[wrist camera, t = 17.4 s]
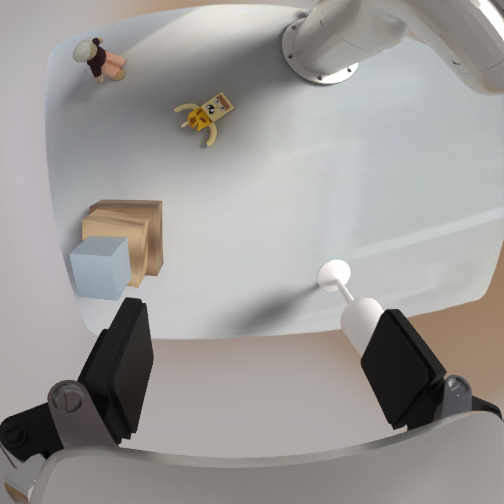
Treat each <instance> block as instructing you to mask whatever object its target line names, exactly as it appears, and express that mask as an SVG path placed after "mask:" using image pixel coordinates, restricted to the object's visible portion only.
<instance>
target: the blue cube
mask: <svg viewBox="0 0 504 504" xmlns="http://www.w3.org/2000/svg"><path fill="white" fill-rule="evenodd" d="M69 256H70V261H71V266H72V271H73V275H74V280H75V284H76V288H77V292H78V296H83V297H91V298H99V299H107V300H116V301H118V299H119V298H120V296H121V294H122V293H123V291H124V289H125V288H126V286H127V284H128V282H129V281H130V279H131V278H132V275H131V267H130V258H129V249H128V238H127V237H110V236H89V237H88V238H86V239H85V240H84V241H83V242H82V243H81V244H80V245H78V246H77V247H76V248H75V249H74V250H73V251H72V252H71V253H69Z"/></svg>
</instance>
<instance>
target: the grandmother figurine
mask: <svg viewBox="0 0 504 504" xmlns="http://www.w3.org/2000/svg"><path fill="white" fill-rule="evenodd" d="M102 41H103V39H102V38H94V39H93V40H90V39H86V40H83V41H82V42H80V43H79V44H78V45H77V46H76V48H75V49H74V51H73V58H74V59H75V60H76V61H77V62H85V61H87V64H88V65H89V66H90V68H91V71H92V73H93V75H94V77H96V79H97V80H98V82H99V83H102V82H104V80H105V78H104V77H103V75H102V73H103V74H105V75H106V76H108V77H109V78H110V79H111V80H121V79H122V78H123V77H124V74H125V72H124V70H123V69H120V68H121V67H123V65H124V64H125V59H124V58H123V57H121V56H118V55H115V54H112V53H110V52H106V51H105V50H103V49H102V48H101V47H99V44H101V43H102Z"/></svg>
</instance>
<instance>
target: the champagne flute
mask: <svg viewBox="0 0 504 504" xmlns="http://www.w3.org/2000/svg"><path fill="white" fill-rule="evenodd" d="M349 277H350V268H349V266H348V265H347V263H345V262H344V261H341V260H333V261H330V262H328V263H326V264H325V265H324V266H323V267H322V268H321V269H320V271H319V273H318V276H317V282H318V284H319V286H320V287H321V288H322V289H323V290H326V291H336V290H338V289H339V290H340V292H341V293H342V295H343V297H344V298H345V300H346V301H347V303H348V305H347V306H346V307H345V309H344V311H343V313H342V316H341V321H340V323H341V328H342V330H343V331H344V333H345V334H346V336H347V337H348V339H349V340H350V342H351V343H352V344H353V346H354V347H355V349H356V350H357V352H358V353H359V355H360V356H361V358H362V356H363V354H364V352H365V350H366V347H367V345H368V343H369V341H370V339H371V337H372V334H373V332H374V330H375V328H376V325H377V323H378V321H379V318H380V316H381V314H382V313H384V312H383V310H382V308H381V306H380V305H379V303H378V302H377V301H375V300H374V299H371V298H357V299H355V300H354V299H353V297H352V296H351V295H350V293H349V292H348V290H347V289H346V287H345V286H344V285H345V284H346V283H347V281H348V279H349Z"/></svg>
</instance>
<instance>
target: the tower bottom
mask: <svg viewBox="0 0 504 504" xmlns="http://www.w3.org/2000/svg"><path fill="white" fill-rule="evenodd" d="M97 209H99V210H106V211H112V212H119V213H125V214H131V215H138V216H144V217H150V227H149V240H148V256H147V272H146V274H145V275H150V276H157V275H158V273H159V271H160V269H161V267H162V265H163V243H162V201H147V200H101V201H99V202H97V203H96V204H94V205H92V206H90V214H91V213H92V212H94V211H95V210H97Z"/></svg>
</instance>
